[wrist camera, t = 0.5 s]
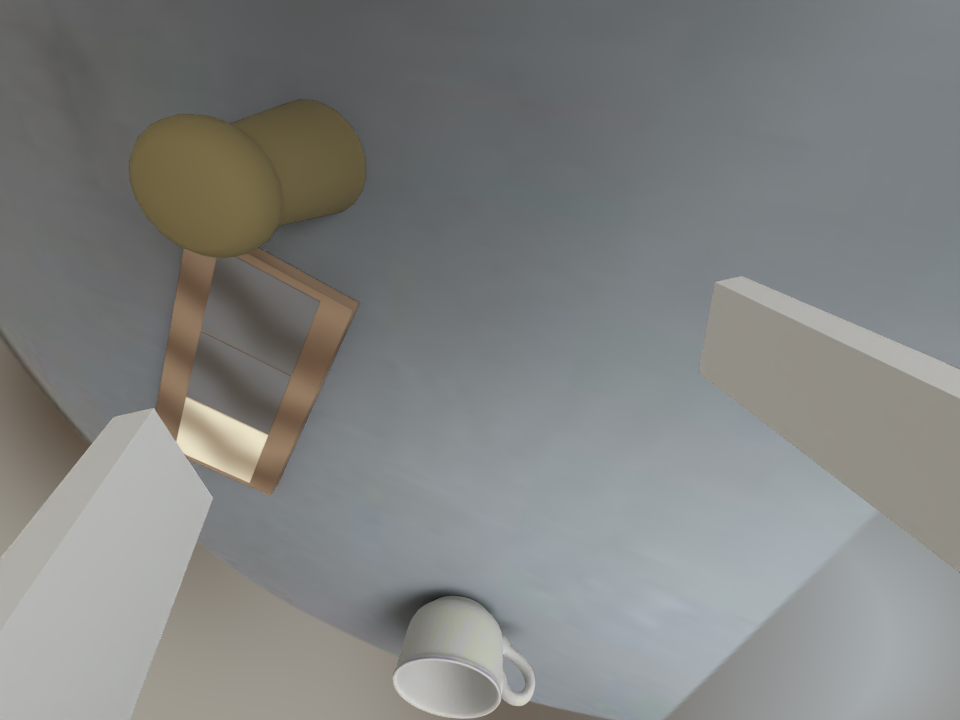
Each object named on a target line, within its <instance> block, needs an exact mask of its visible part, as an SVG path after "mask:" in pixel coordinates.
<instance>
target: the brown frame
mask: <svg viewBox="0 0 960 720" xmlns="http://www.w3.org/2000/svg"><path fill="white" fill-rule="evenodd" d="M358 305H359V302H357V301H355V300H353V299H351V298H349V297H348V296H346V295H344V294H342V293H340V292H338V291H337V290H335V289H333V288H331V287H329V286H327V285H326V284H324V283H322V282H320V281H318V280H316V279H314V278H313V277H311V276H309V275H307V274H305V273H303V272H302V271H300V270H298V269H296V268H294V267H292V266H291V265H289V264H287V263H285V262H283V261H281V260H280V259H278V258H276V257H274V256H272V255H270V254H269V253H267V252H265V251H263V250H261V249H259V248H257V249H255V250H254V251H252V252H250V253H249V254H244V255H240V256H235V257H230V258H216V257H208V256H203V255H200V254H197V253H194V252H192V251H189V250H187V249H185V248H184V250H183V256H182V262H181V267H180V273H179V279H178V285H177V291H176V297H175V303H174V308H173V314H172V320H171V326H170V332H169V338H168V343H167V349H166V355H165V361H164V367H163V373H162V378H161V384H160V390H159V396H158V402H157V408H156V412H157V414H158V415H159V417H160V418H161V420H162V421H163V423H164V424H165V426H166V427H167V429H168V430H169V432H170V433H171V435H172V436H173V438H174V439H175V441H176V443H177V444H178V446H179V447H180V449H181V450H182V452H183V453H184V455H185V456H186V458H187V459H189V460H191V461H193V462H196V463H198V464H200V465H202V466H205V467H207V468H209V469H212V470H214V471H216V472H218V473H221V474H223V475H225V476H227V477H230V478H232V479H234V480H236V481H239V482H241V483H243V484H245V485H248V486H250V487H252V488H255V489H257V490H259V491H261V492H264V493H266V494H268V495H270V496H271V494H272V493H273V491H274V490H275V488H276V487H277V485H278V483H279V481H280V478H281V476H282V474H283V472H284V469H285V467H286V465H287V463H288V461H289V458H290V456H291V454H292V452H293V450H294V447H295V445H296V443H297V441H298V438H299V436H300V434H301V432H302V430H303V427H304V425H305V423H306V421H307V418H308V416H309V414H310V412H311V410H312V407H313V405H314V403H315V401H316V398H317V396H318V394H319V392H320V390H321V387H322V385H323V383H324V381H325V379H326V376H327V374H328V372H329V370H330V367H331V365H332V363H333V361H334V359H335V356H336V354H337V352H338V350H339V347H340V345H341V343H342V341H343V339H344V336H345V334H346V332H347V330H348V327H349V325H350V323H351V321H352V319H353V316H354V314H355V312H356V310H357V307H358Z"/></svg>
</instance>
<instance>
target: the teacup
mask: <svg viewBox="0 0 960 720" xmlns="http://www.w3.org/2000/svg"><path fill="white" fill-rule="evenodd" d="M503 656H505V657H506V658H508V659H509V660H510V661H512V662H513V663H514V664H515V665H516V666H517V667H518V668H519V669H520V671H521V672H522V674H523V676H524V679H525V688H524V689H523V691H521V692H516V691H514V690H512V689H511V688H510V687H509V685H508V683H507V680H506V675H505V671H504V670H503V668H502V666H503ZM393 685H394V687H395V689H396V691H397V692H398V694H399V695H400V696H401V697H402V698H403V699H405V700H406V701H407V702H409V703H410V704H412V705H413V706H415V707H417V708H419V709H421V710H424V711H426V712H429V713H432V714H435V715H439V716H443V717H450V718H462V719H466V718H475V717H480V716H484V715H487V714H488V713H490V712H492V711H493V710H494V709H496V707H497V706H498V705H499V703H500V701H501V697H502V698H503V699H504V700H505V701H506V702H508V703H509V704H511V705H514V706H521V705H524V704H526V703H527V702H528V701H529V700H530V699H531V697H532V695H533V692H534V688H535V677H534V673H533V670H532V668H531V666H530V664H529V663H528V662H527V660H526V659H525V658H524V657H523V656H522V655H521V654H520V653H519V652H518V651H516V650H515V649H514V648H513V647H512V646H511V645H510V644H509V641H508V639H507V638H506V637H504V636H502V633H501V630H500V627H499V625H498V623H497V621H496V620H495V619H494V617H493V616H492V615H491V614H490V613H489V612H488V611H487V610H486V609H485V608H484V607H483V606H482V605H481V604H479V603H478V602H476V601H474V600H472V599H469V598H466V597H461V596H445V597H441V598H438V599H436V600H434V601H432V602H430V603H427V604H426V605H424V606H422V607H421V608H420V609H419V610H418V611H417V612H416V613H415V615H414V616H413V618H412V619H411V622H410V624H409V626H408V629H407V632H406V635H405V639H404V642H403V645H402V649H401V653H400V656H399V660H398V664H397V668H396V670H395V671H394V674H393Z"/></svg>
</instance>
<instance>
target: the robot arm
mask: <svg viewBox="0 0 960 720" xmlns="http://www.w3.org/2000/svg"><path fill="white" fill-rule="evenodd" d="M699 374H701V375H702V376H703V377H705V378H706V379H707V380H709V381H710V382H711V383H712V384H714V385H715V386H716V387H718V388H719V389H720V390H722V391H723V392H724V393H725V394H727V395H728V396H729V397H731V398H732V399H733V400H735V401H736V402H737V403H739V404H740V405H741V406H742V407H744V408H745V409H746V410H748V411H749V412H750V413H752V414H753V415H754V416H756V417H757V418H758V419H759V420H761V421H762V422H763V423H765V424H766V425H767V426H769V427H770V428H771V429H773V430H774V431H775V432H776V433H778V434H779V435H780V436H782V437H783V438H784V439H786V440H787V441H788V442H789V443H791V444H792V445H793V446H795V447H796V448H797V449H799V450H800V451H801V452H803V453H804V454H805V455H806V456H808V457H809V458H810V459H812V460H813V461H814V462H816V463H817V464H818V465H820V466H821V467H822V468H823V469H825V470H826V471H827V472H829V473H830V474H831V475H833V476H834V477H835V478H837V479H838V480H839V481H840V482H842V483H843V484H844V485H846V486H847V487H848V488H850V489H851V490H852V491H853V492H855V493H856V494H857V495H859V496H860V497H861V498H863V499H864V500H865V501H867V502H868V503H869V504H870V505H872V506H873V507H874V508H876V509H877V510H878V511H880V512H881V513H882V514H884V515H885V516H886V517H887V518H889V519H890V520H891V521H893V522H894V523H895V524H897V525H898V526H899V527H900V528H902V529H903V530H904V531H906V532H907V533H908V534H910V535H911V536H912V537H914V538H915V539H916V540H917V541H919V542H920V543H922V544H923V545H924V546H925V547H927V548H928V549H929V550H931V551H932V552H933V553H935V554H936V555H937V556H939V557H940V558H941V559H942V560H944V561H945V562H946V563H948V564H949V565H950V566H952V567H953V568H954V569H955V570H957V571H958V572H959V573H960V369H959V368H957V367H954V366H952V365H950V364H947V363H944V362H942V361H939V360H937V359H935V358H932V357H930V356H928V355H925V354H923V353H921V352H918V351H916V350H914V349H911V348H909V347H906V346H904V345H902V344H899V343H897V342H895V341H892V340H890V339H888V338H885V337H883V336H881V335H878V334H876V333H874V332H871V331H869V330H867V329H864V328H862V327H860V326H857V325H855V324H853V323H850V322H848V321H846V320H843V319H841V318H839V317H836V316H834V315H832V314H829V313H827V312H825V311H822V310H820V309H818V308H815V307H813V306H811V305H808V304H806V303H804V302H801V301H799V300H797V299H794V298H792V297H789V296H787V295H785V294H782V293H780V292H778V291H775V290H773V289H771V288H768V287H766V286H764V285H761V284H759V283H757V282H754V281H752V280H750V279H747V278H745V277H743V276H740V277H736V278H731V279H727V280H722V281H718V282H715V286H714V291H713V297H712V303H711V308H710V314H709V319H708V325H707V330H706V336H705V342H704V347H703V353H702V358H701V364H700V369H699ZM212 499H213V497H212V496H211V494H210V493H209V491H208V490H207V488H206V487H205V485H204V484H203V482H202V481H201V479H200V478H199V476H198V474H197V473H196V471H195V470H194V468H193V467H192V465H191V464H190V462H189V461H188V459H187V458H186V456H185V455H184V453H183V452H182V450H181V449H180V447H179V446H178V444H177V443H176V441H175V439H174V438H173V436H172V435H171V433H170V432H169V430H168V429H167V427H166V426H165V424H164V423H163V421H162V420H161V418H160V417H159V415H158V414H157V412H156V411H155V409H154V408H151V409H147V410H142V411H138V412H133V413H129V414H125V415H120V416H116V417H113V418H112V419H111V421H110V422H109V423H108V424H107V426H106V427H105V428H104V429H103V431H102V432H101V433H100V434H99V436H98V437H97V438H96V439H95V441H94V442H93V443H92V444H91V446H90V447H89V448H88V449H87V451H86V452H85V453H84V454H83V456H82V457H81V458H80V459H79V461H78V462H77V463H76V465H75V466H74V467H73V468H72V470H71V471H70V472H69V473H68V474H67V476H66V477H65V478H64V479H63V481H62V482H61V483H60V485H59V486H58V487H57V488H56V489H55V491H54V492H53V493H52V495H51V496H50V497H49V498H48V499H47V501H46V502H45V503H44V504H43V506H42V507H41V508H40V509H39V511H38V512H37V513H36V514H35V516H34V517H33V518H32V520H31V521H30V522H29V523H28V524H27V526H26V527H25V528H24V529H23V531H22V532H21V533H20V534H19V536H18V537H17V538H16V539H15V541H14V542H13V543H12V544H11V545H10V547H9V548H8V549H7V550H6V552H5V553H4V554H3V555H2V557H1V558H0V720H130V717H131V715H132V712H133V710H134V707H135V705H136V702H137V699H138V696H139V693H140V691H141V689H142V686H143V683H144V681H145V678H146V675H147V673H148V670H149V667H150V664H151V662H152V659H153V657H154V654H155V651H156V649H157V646H158V643H159V640H160V638H161V635H162V633H163V630H164V627H165V624H166V622H167V619H168V616H169V614H170V611H171V608H172V606H173V603H174V601H175V598H176V595H177V592H178V590H179V587H180V585H181V582H182V579H183V577H184V574H185V571H186V569H187V566H188V563H189V561H190V558H191V555H192V553H193V550H194V547H195V545H196V542H197V539H198V537H199V534H200V531H201V529H202V526H203V523H204V521H205V518H206V515H207V513H208V510H209V507H210V505H211V502H212Z"/></svg>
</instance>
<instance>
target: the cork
mask: <svg viewBox="0 0 960 720" xmlns="http://www.w3.org/2000/svg"><path fill="white" fill-rule="evenodd" d="M129 173H130V182H131V185H132V189H133V192H134V195H135V198H136V200H137V202H138V204H139V205H140V207H141V209H142V210H143V212H144V214H145V215H146V217H147V218H148V220H149V221H150V222H151V223H152V224H153V225H154V226H155V227H156V228H157V229H158V230H159V232H160V233H161V234H163V235H164V236H165V237H167V238H168V239H169V240H171V241H172V242H174V243H175V244H176V245H178V246H180V247H182V248H185V249H187V250H189V251H192V252H194V253H197V254H200V255H203V256H208V257H216V258H230V257H235V256H240V255H244V254H249V253H250V252H252V251H254V250H255V249H257V248H258V247H260V246H261V245H263V244H264V243H265V242H267V241H268V240H269V239H270V238H271V236H272V235H273V233H274V232H275V230H276V228H277V227H278V226H280V225H285V224H289V223H294V222H298V221H303V220H307V219H312V218H316V217H321V216H325V215H330V214H334V213H338V212H342V211H344V210H345V209H347V208H348V207H350V206H351V205H352V204H354V203H355V201H356V200H357V198H358V197H359V195H360V194H361V192H362V190H363V186H364V182H365V178H366V162H365V155H364V152H363V149H362V146H361V143H360V140H359V138H358V136H357V135H356V133H355V132H354V130H353V129H352V127H351V126H350V124H349V122H347V121H346V120H345V119H344V118H343V117H342V116H341V115H340V114H339V113H338V112H336V111H335V110H334V109H332V108H330V107H328V106H326V105H324V104H322V103H320V102H318V101H310V100H301V99H300V100H296V101H293V102H290V103H286V104H283V105H280V106H278V107H275V108H272V109H269V110H267V111H264V112H261V113H258V114H255V115H253V116H250V117H247V118H244V119H241V120H239V121H236V122H233V123H230V124H228V123H226V122H224V121H222V120H219V119H217V118H214V117H211V116H203V115H194V114H177V115H174V116H171V117H168V118H164V119H161V120H159V121H157V122H155V123H153V124H151V125H150V126H149V127H148V128H147V129H146V130H145V131H144V132H143V133H142V134H141V135H140V136H139V137H138V138H137V141H136V143H135V145H134V148H133V151H132V154H131V157H130V160H129Z"/></svg>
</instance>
